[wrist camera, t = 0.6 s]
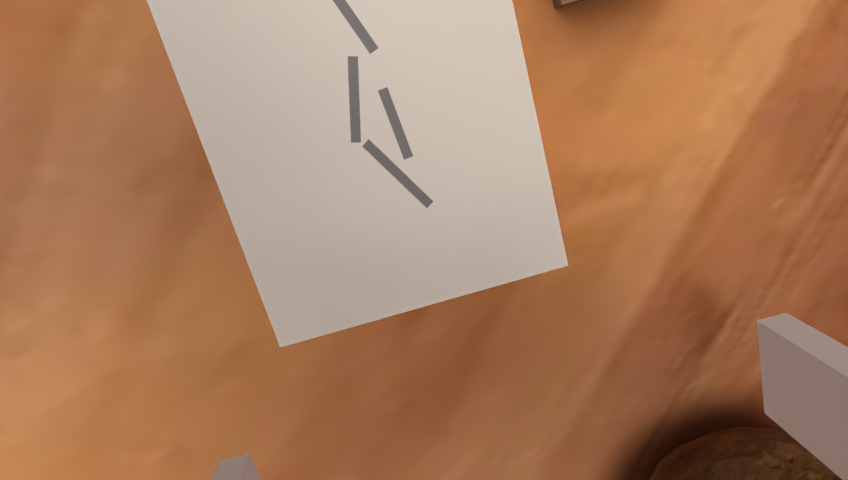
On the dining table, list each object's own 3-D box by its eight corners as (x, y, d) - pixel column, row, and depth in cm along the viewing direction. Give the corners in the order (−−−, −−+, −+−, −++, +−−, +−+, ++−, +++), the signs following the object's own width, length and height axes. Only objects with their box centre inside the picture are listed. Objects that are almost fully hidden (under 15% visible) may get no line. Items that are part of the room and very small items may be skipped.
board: (105, -141, 31) (86, -156, 29) (452, -240, 31) (456, -262, 29) (285, 334, 39) (280, 347, 37) (559, 256, 39) (568, 265, 37)
